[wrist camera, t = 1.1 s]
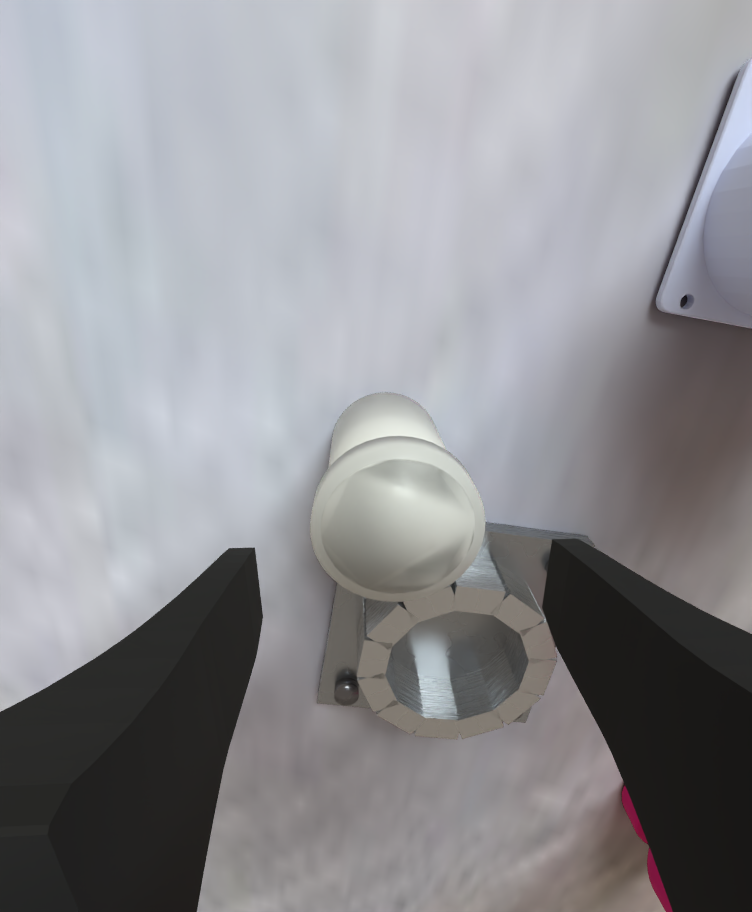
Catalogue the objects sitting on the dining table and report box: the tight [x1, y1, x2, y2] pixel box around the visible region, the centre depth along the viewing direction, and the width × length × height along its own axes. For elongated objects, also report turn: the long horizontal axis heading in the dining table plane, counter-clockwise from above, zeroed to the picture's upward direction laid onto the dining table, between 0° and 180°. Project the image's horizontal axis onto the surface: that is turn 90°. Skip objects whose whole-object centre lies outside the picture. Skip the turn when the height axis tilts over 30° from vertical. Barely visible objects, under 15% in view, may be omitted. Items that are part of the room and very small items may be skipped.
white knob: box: [310, 392, 485, 602], centre depth 17 cm, size 5×5×7 cm
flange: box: [317, 522, 595, 740], centre depth 22 cm, size 11×11×3 cm
